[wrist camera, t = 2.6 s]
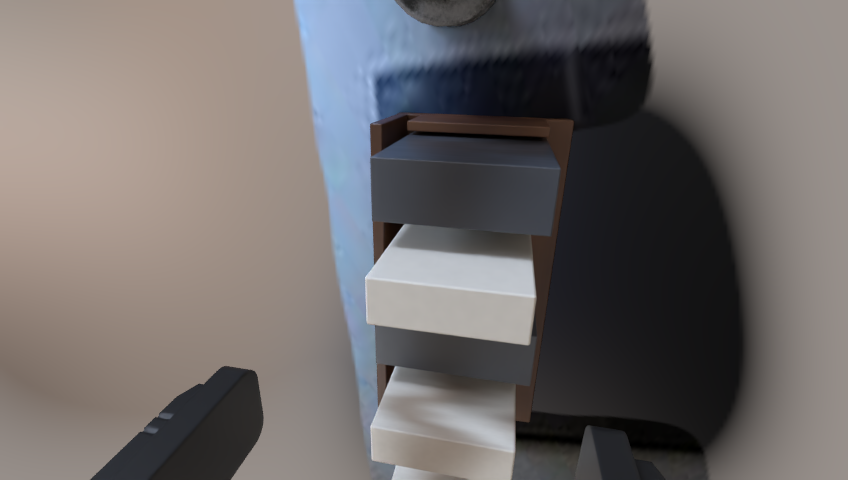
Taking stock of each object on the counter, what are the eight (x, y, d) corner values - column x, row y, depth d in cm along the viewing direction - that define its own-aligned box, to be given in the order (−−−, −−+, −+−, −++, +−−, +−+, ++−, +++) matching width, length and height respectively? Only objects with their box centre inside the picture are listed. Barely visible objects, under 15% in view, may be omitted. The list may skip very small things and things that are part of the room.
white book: (527, 197, 25) (537, 296, 14) (523, 229, 26) (530, 347, 15) (427, 190, 26) (364, 277, 15) (427, 221, 27) (366, 324, 16)
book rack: (572, 119, 24) (628, 165, 12) (529, 415, 32) (537, 615, 20) (399, 112, 25) (300, 146, 14) (400, 394, 33) (338, 567, 22)
